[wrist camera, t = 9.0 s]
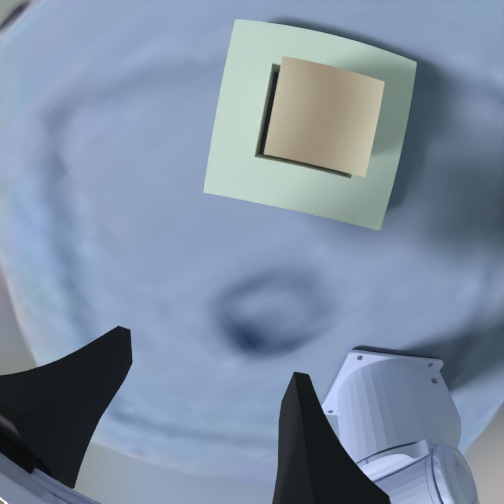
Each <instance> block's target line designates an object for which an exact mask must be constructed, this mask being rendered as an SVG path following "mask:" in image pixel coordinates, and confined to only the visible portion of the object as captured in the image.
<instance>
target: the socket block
mask: <svg viewBox="0 0 504 504" xmlns="http://www.w3.org/2000/svg"><path fill="white" fill-rule="evenodd" d="M283 56H286V57H292V58H297V59H302V60H307V61H311V62H316V63H320V64H325V65H329V66H333V67H337V68H341V69H344V70H348V71H352V72H355V73H359V74H362V75H365V76H368V77H372V78H375V79H378V80H381V81H384V82H385V83H384V89H383V95H382V101H381V106H380V111H379V116H378V122H377V126H376V131H375V136H374V141H373V145H372V150H371V154H370V159H369V163H368V167H367V171H366V175H365V178H364V177H360V176H357V175H353V174H349V173H345V172H343V173H342V172H338V171H334V170H330V169H326V168H322V167H318V166H313V165H309V164H305V163H300V162H296V161H291V160H286V159H282V158H277V157H272V156H267V155H262V154H259V151H260V146H261V141H262V135H263V130H264V125H265V120H266V114H267V109H268V104H269V99H270V94H271V89H272V83H273V78H274V73H279V72H280V67H281V62H282V57H283ZM416 66H417V62H415V61H412V60H410V59H407V58H405V57H402V56H399V55H397V54H394V53H391V52H388V51H385V50H383V49H380V48H377V47H373V46H370V45H367V44H364V43H361V42H357V41H354V40H350V39H347V38H343V37H339V36H335V35H331V34H327V33H323V32H318V31H313V30H309V29H304V28H298V27H293V26H287V25H281V24H274V23H267V22H259V21H250V20H239V19H235V23H234V27H233V31H232V36H231V40H230V45H229V50H228V54H227V59H226V64H225V69H224V74H223V79H222V84H221V89H220V94H219V100H218V105H217V111H216V116H215V122H214V128H213V134H212V140H211V146H210V152H209V158H208V165H207V171H206V178H205V185H204V193H209V194H215V195H220V196H225V197H231V198H236V199H241V200H246V201H251V202H256V203H261V204H266V205H270V206H275V207H280V208H284V209H289V210H294V211H298V212H303V213H307V214H312V215H316V216H320V217H325V218H329V219H333V220H337V221H342V222H346V223H350V224H354V225H358V226H362V227H366V228H370V229H374V230H378V231H380V229H381V226H382V222H383V219H384V216H385V212H386V209H387V205H388V202H389V198H390V195H391V191H392V187H393V183H394V179H395V176H396V172H397V167H398V163H399V159H400V155H401V150H402V146H403V141H404V137H405V132H406V127H407V122H408V116H409V111H410V105H411V100H412V94H413V87H414V81H415V73H416Z"/></svg>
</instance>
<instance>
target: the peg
mask: <svg viewBox="0 0 504 504" xmlns="http://www.w3.org/2000/svg"><path fill="white" fill-rule="evenodd" d="M384 83H385V82H384V81H381V80H378V79H375V78H372V77H368V76H365V75H362V74H359V73H355V72H352V71H348V70H344V69H341V68H337V67H333V66H329V65H325V64H320V63H316V62H311V61H307V60H302V59H297V58H292V57H286V56H283V57H282V62H281V67H280V72H279V77H278V82H277V87H276V93H275V98H274V103H273V108H272V113H271V118H270V124H269V129H268V134H267V139H266V145H265V150H264V154H266V155H271V156H276V157H281V158H286V159H290V160H295V161H300V162H304V163H308V164H313V165H317V166H321V167H325V168H329V169H333V170H337V171H341V172H345V173H349V174H353V175H357V176H360V177H364V178H365V175H366V171H367V167H368V163H369V159H370V154H371V150H372V145H373V141H374V136H375V131H376V126H377V122H378V116H379V111H380V106H381V101H382V95H383V89H384Z"/></svg>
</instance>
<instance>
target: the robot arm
mask: <svg viewBox="0 0 504 504" xmlns="http://www.w3.org/2000/svg"><path fill="white" fill-rule="evenodd" d="M358 356H361V357H358ZM430 363H431V364H430ZM131 365H132V348H131V331H130V329H127V328H124V327H121V326H117V327H116V328H114V329H112V330H111V331H109V332H107V333H106V334H104V335H102V336H101V337H99V338H98V339H96V340H94V341H93V342H91V343H89V344H88V345H86V346H84V347H82V348H81V349H79V350H77V351H75V352H73V353H71V354H69V355H67V356H65V357H63V358H61V359H59V360H57V361H54V362H52V363H49V364H46V365H44V366H41V367H37V368H34V369H31V370H28V371H24V372H19V373H14V374H8V375H0V499H1V500H2V501H3V502H4V503H6V504H65V503H67V504H101V503H99V502H97V501H94V500H92V499H90V498H88V497H86V496H84V495H82V494H80V493H78V492H76V491H74V490H72V489H73V488H74V487H75V483H76V480H77V476H78V472H79V469H80V466H81V463H82V461H83V458H84V455H85V452H86V450H87V447H88V445H89V442H90V440H91V437H92V435H93V433H94V431H95V428H96V426H97V424H98V422H99V420H100V418H101V416H102V415H103V413H104V412H105V410H106V408H107V407H108V405H109V404H110V402H111V400H112V399H113V397H114V396H115V394H116V393H117V391H118V390H119V388H120V386H121V385H122V383H123V382H124V380H125V378H126V376H127V374H128V371H129V369H130V367H131ZM442 366H443V361H442V360H441V359H432V358H421V357H411V356H402V355H393V354H385V353H377V352H369V351H362V350H352V351H350V352H349V353H348V355H347V357H346V359H345V361H344V363H343V365H342V368H341V370H340V372H339V374H338V376H337V378H336V380H335V381H334V383H333V385H332V387H331V389H330V391H329V393H328V395H327V397H326V399H325V400H324V402H323V404H322V406H321V405H320V403H319V400H318V398H317V395H316V393H315V390H314V387H313V385H312V382H311V379H310V376H309V375H308V374H304V373H299V372H294V373H293V376H292V378H291V381H290V383H289V385H288V388H287V390H286V393H285V395H284V397H283V399H282V403H281V410H280V417H279V439H278V471H277V478H276V485H275V492H274V497H273V503H272V504H479V501H478V496H477V490H476V485H475V482H474V480H473V476H472V473H471V471H470V468H469V466H468V464H467V462H466V461H465V458H464V457H463V455H462V454H461V452H460V451H459V450H458V449H457V447H458V444H459V441H460V436H461V420H460V416H459V413H458V411H457V409H456V406H455V404H454V402H453V399H452V397H451V395H450V393H449V390H448V388H447V386H446V384H445V382H444V379H443V377H442V375H441V373H440V369H441V368H442ZM325 414H328V415H338V425H339V437H340V441H339V440H338V438H337V436H336V435H335V433H334V431H333V429H332V427H331V426H330V424H329V422H328V420H327V418H326V416H325ZM57 498H58V499H57ZM59 499H60V500H62V501H63V502H65V503H63V502H62V501H60V500H59Z"/></svg>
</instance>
